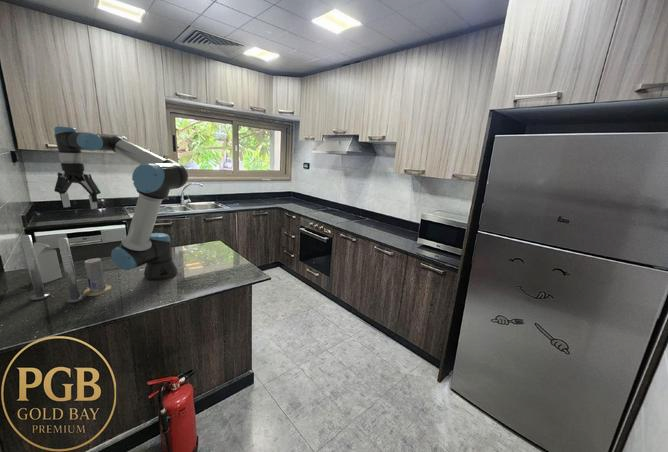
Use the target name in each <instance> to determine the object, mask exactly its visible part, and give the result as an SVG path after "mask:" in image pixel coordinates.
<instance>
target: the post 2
mask: <svg viewBox="0 0 668 452" xmlns="http://www.w3.org/2000/svg"><path fill="white" fill-rule="evenodd" d="M57 243H58V247H59V252H60V256H61V260H62V261H61V262H62V266H63V270H64V275H65V278H66V283H67V287H68V291H69V297H67V298H66V300H65V302H66V304H69V305H70V304H76V303H79V302H82V301H84V300H85V299H86V296H85V295H84V294H81V293H80V289H79V285H78V280H77V276H76V270H75V266H74V262H73V256H72V251H71V247H70V242H69V238H68V237H65V236H64V237H63V236H62V237H57Z"/></svg>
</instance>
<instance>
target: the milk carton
mask: <svg viewBox="0 0 668 452" xmlns="http://www.w3.org/2000/svg"><path fill="white" fill-rule="evenodd" d="M33 245H34V249H35V254H36V258H37V262H38V266H39V270H40V274H41V278H42V282H43V284H47V283H50V282H53V281H55V280H58V279H62V278H63V275H62V270H61V267H60V263H59V257H58V252H57V249H55V248H51V247H50V245H48V244H46V243H40V242H34V243H33Z"/></svg>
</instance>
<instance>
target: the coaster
mask: <svg viewBox="0 0 668 452" xmlns="http://www.w3.org/2000/svg"><path fill="white" fill-rule="evenodd" d="M105 285H106V288H105V289H104V290H102V291H99V292H91V291H90V287H88V288H87V289H85V290H83V292H82V293H83V295H85V297H95V296H100V295H103V294H106V293H108V292H110V291H111V290H112V285H110V284H105Z"/></svg>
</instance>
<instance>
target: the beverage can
mask: <svg viewBox="0 0 668 452" xmlns="http://www.w3.org/2000/svg"><path fill="white" fill-rule="evenodd" d="M84 267H85V271H86V276H87V281H88V286H89V287H88V288H90V291H91V292H99V291H102V290H104V289H105V288H106V285H107V284H106V281H105V275H104V269H103V264H102V258H99V257H96V258H90V259H86V260H85V261H84Z"/></svg>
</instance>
